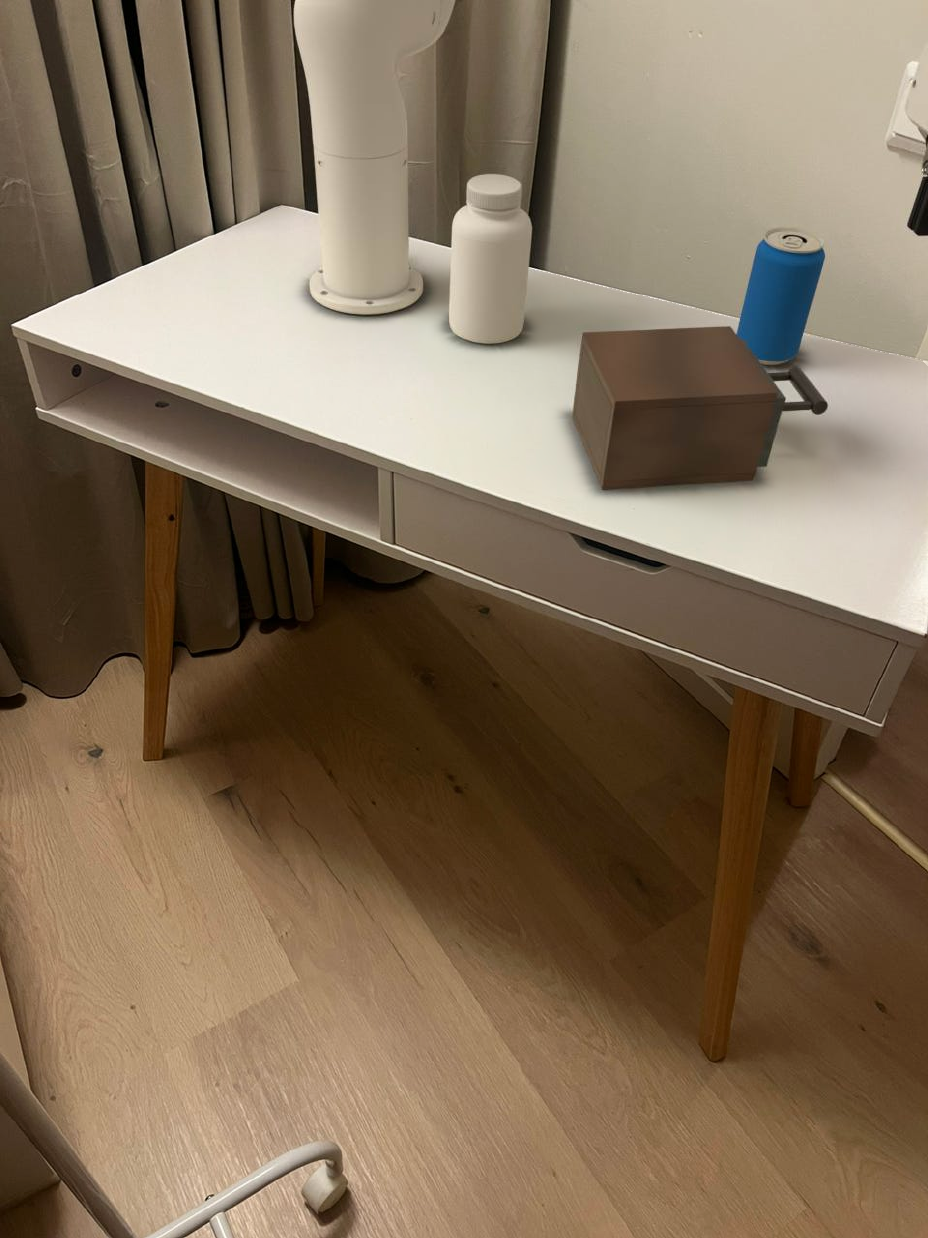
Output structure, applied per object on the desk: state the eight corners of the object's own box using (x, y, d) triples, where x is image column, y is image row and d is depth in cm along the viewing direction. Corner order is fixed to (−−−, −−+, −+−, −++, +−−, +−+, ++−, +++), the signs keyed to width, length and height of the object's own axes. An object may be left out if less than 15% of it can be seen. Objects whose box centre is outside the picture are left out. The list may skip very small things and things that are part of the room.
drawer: (780, 401, 94) (799, 335, 90) (824, 463, 87) (847, 394, 82) (598, 410, 92) (607, 343, 88) (627, 475, 85) (639, 405, 80)
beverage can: (801, 346, 104) (834, 233, 96) (789, 374, 100) (822, 258, 92) (741, 333, 106) (767, 220, 98) (726, 359, 102) (753, 244, 94)
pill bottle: (517, 350, 102) (528, 202, 92) (441, 340, 103) (443, 193, 93) (529, 315, 108) (541, 172, 97) (457, 306, 109) (461, 164, 98)
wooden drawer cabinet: (711, 409, 95) (730, 325, 89) (753, 480, 86) (778, 392, 80) (571, 417, 93) (581, 331, 87) (601, 489, 85) (615, 401, 79)
